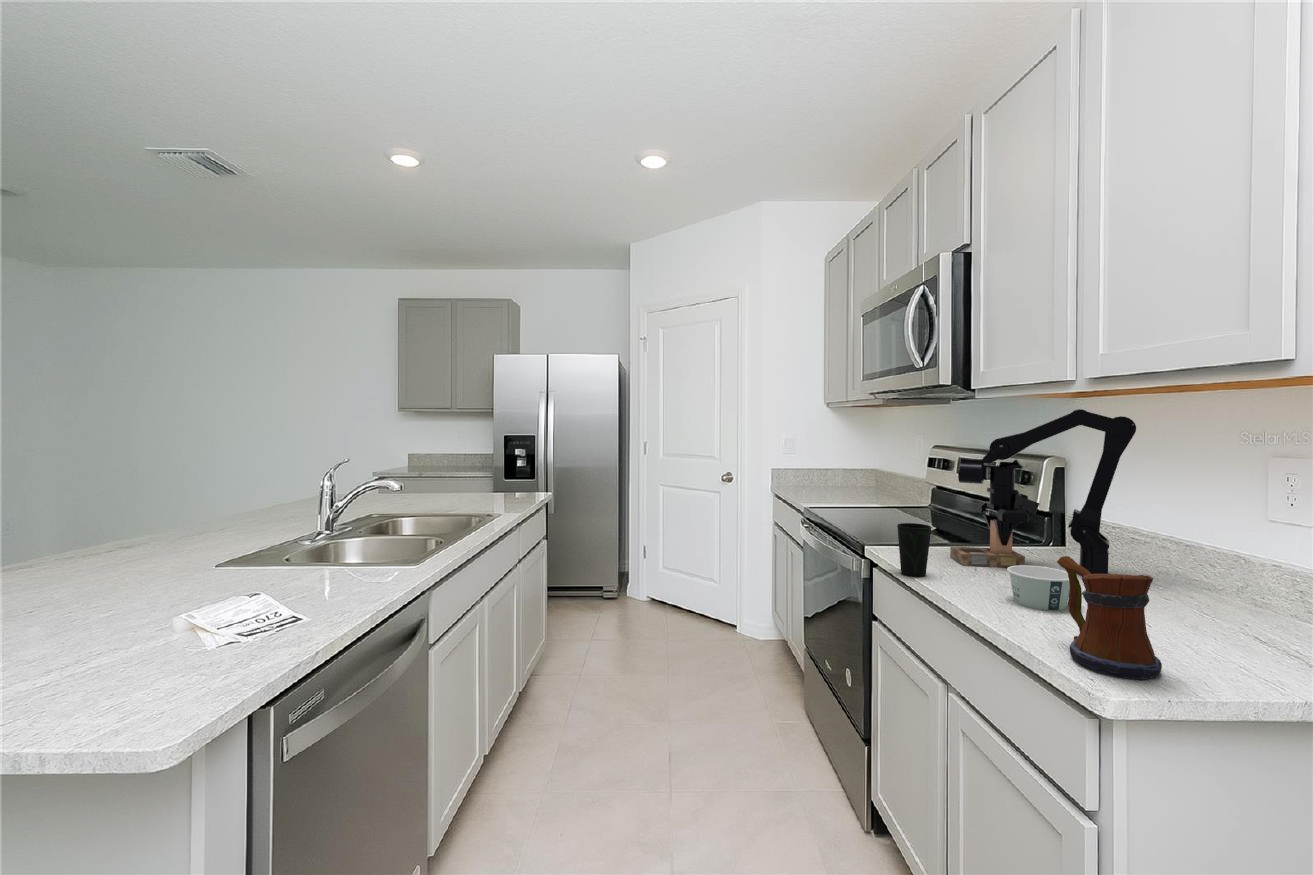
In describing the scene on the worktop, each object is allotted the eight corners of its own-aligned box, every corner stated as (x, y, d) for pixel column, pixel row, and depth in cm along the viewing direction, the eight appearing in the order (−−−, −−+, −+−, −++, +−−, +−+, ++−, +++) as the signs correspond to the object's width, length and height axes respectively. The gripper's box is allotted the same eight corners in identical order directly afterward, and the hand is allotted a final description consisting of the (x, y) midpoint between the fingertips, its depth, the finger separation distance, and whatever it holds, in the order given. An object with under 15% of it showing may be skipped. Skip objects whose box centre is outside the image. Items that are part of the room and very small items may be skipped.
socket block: (1025, 568, 155) (1025, 556, 155) (962, 565, 158) (962, 553, 158) (1008, 559, 166) (1009, 547, 165) (950, 557, 168) (950, 545, 168)
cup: (889, 572, 151) (890, 524, 150) (912, 569, 154) (913, 522, 153) (913, 579, 144) (914, 529, 143) (937, 576, 147) (938, 527, 146)
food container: (996, 594, 132) (996, 564, 132) (1054, 596, 131) (1055, 566, 131) (1023, 611, 120) (1024, 578, 120) (1088, 613, 119) (1089, 580, 119)
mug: (1028, 637, 106) (1030, 551, 105) (1094, 637, 106) (1096, 552, 105) (1103, 681, 88) (1106, 578, 87) (1183, 682, 88) (1186, 579, 87)
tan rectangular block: (1011, 556, 159) (1012, 522, 159) (995, 556, 159) (996, 522, 159) (1005, 553, 163) (1006, 520, 163) (989, 553, 163) (990, 519, 163)
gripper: (1052, 489, 150) (1051, 552, 151) (1020, 482, 169) (1019, 538, 169) (1003, 488, 152) (1002, 550, 152) (977, 481, 170) (976, 536, 171)
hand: (1001, 543), depth 161 cm, fingers closed on tan rectangular block, 4 cm apart
